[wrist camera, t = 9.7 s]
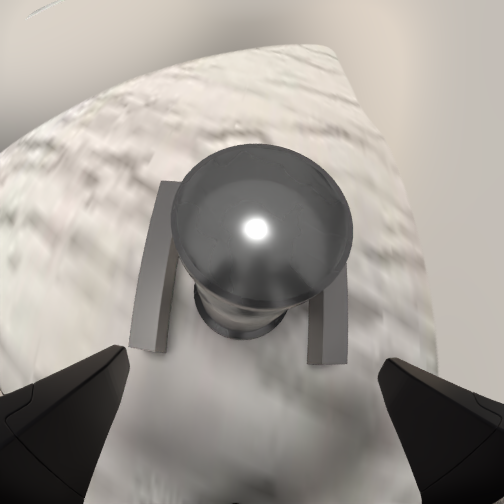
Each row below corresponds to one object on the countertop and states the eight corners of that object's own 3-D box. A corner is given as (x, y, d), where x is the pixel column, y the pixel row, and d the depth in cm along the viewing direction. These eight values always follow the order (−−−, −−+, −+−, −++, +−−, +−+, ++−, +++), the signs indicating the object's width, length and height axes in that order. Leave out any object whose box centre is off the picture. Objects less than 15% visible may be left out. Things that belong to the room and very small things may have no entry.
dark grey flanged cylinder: (304, 315, 19) (391, 262, 9) (218, 355, 17) (210, 354, 7) (263, 236, 21) (300, 125, 10) (181, 269, 19) (141, 171, 9)
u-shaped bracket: (329, 363, 18) (357, 363, 14) (142, 348, 17) (120, 345, 13) (327, 219, 22) (349, 189, 18) (167, 203, 21) (157, 168, 17)
